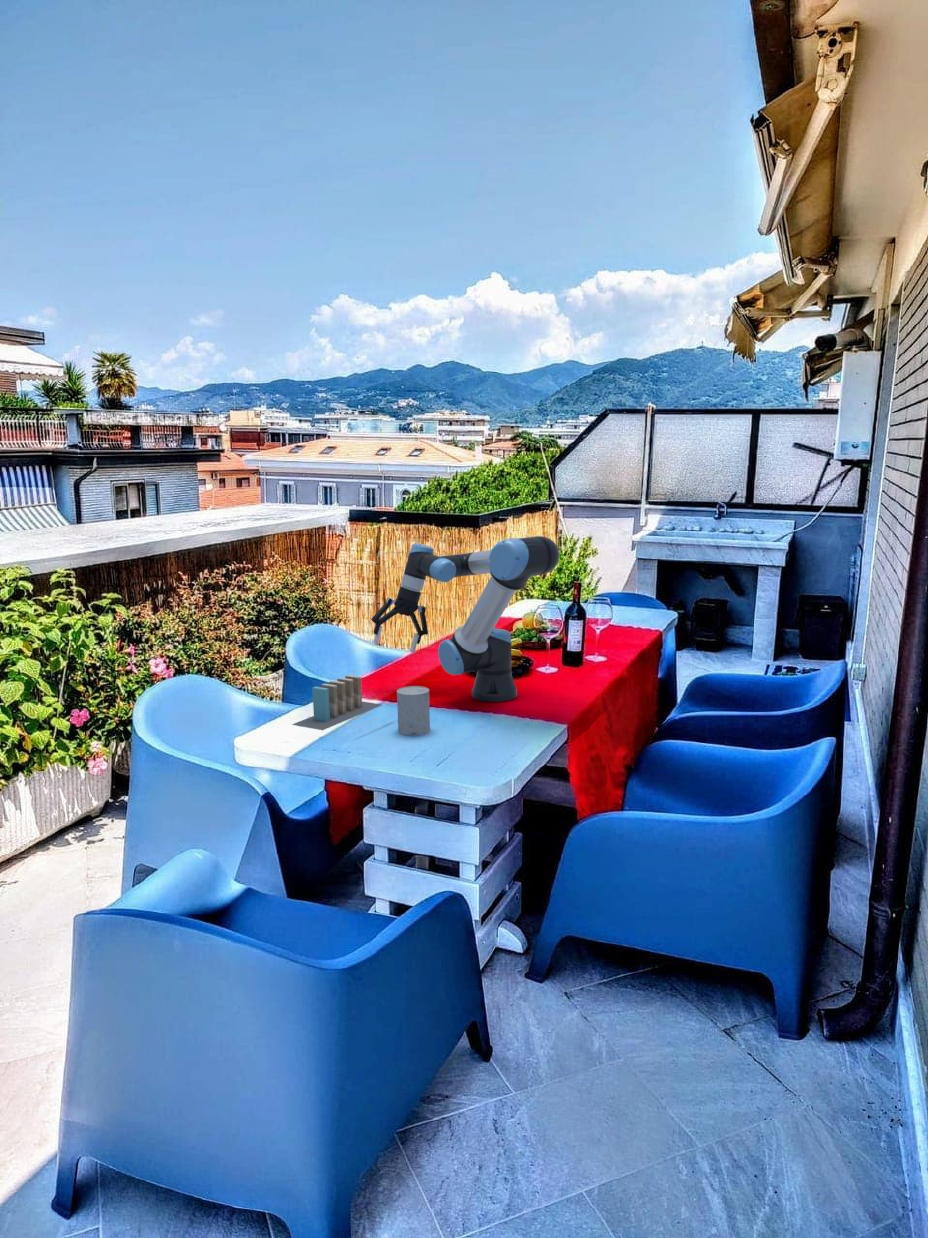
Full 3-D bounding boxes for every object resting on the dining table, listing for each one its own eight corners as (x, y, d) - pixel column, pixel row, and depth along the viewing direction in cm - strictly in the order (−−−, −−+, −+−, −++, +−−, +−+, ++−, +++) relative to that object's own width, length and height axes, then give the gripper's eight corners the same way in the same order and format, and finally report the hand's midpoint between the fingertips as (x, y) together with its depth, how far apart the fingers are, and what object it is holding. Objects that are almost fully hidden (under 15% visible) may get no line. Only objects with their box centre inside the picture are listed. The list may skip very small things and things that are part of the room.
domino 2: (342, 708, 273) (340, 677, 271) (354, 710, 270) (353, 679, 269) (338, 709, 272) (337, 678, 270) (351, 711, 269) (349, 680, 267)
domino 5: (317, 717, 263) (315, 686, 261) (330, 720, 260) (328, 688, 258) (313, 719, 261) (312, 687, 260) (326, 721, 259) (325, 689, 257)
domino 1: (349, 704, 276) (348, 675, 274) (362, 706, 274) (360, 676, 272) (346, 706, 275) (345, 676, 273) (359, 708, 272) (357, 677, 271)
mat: (353, 702, 282) (353, 700, 282) (383, 707, 276) (383, 704, 276) (291, 727, 257) (291, 724, 257) (322, 733, 251) (322, 730, 251)
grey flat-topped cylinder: (418, 737, 246) (416, 696, 243) (391, 732, 250) (390, 692, 248) (436, 728, 253) (435, 688, 251) (410, 724, 258) (409, 684, 256)
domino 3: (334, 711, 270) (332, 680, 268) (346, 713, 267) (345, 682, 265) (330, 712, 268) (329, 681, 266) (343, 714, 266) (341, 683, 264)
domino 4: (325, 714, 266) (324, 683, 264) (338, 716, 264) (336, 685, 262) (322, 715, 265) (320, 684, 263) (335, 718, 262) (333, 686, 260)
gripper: (440, 594, 297) (423, 652, 299) (373, 577, 286) (356, 637, 289) (447, 599, 290) (430, 658, 292) (379, 581, 280) (362, 643, 282)
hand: (393, 648), depth 291 cm, fingers open, 13 cm apart
